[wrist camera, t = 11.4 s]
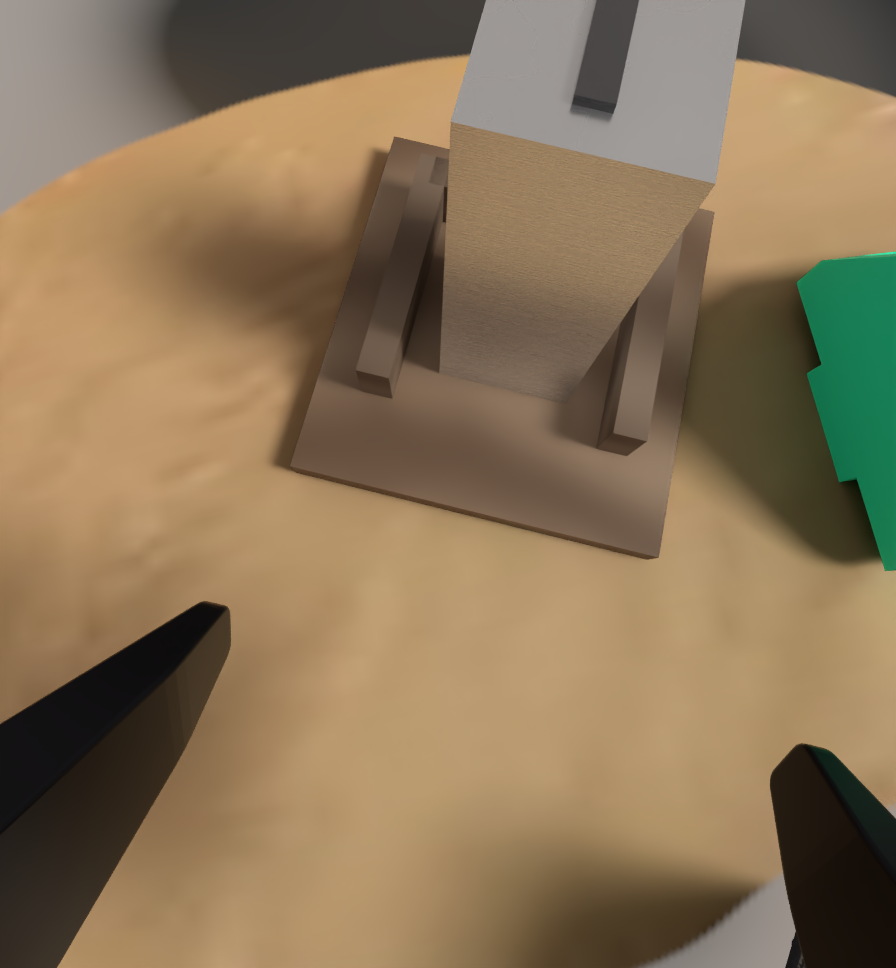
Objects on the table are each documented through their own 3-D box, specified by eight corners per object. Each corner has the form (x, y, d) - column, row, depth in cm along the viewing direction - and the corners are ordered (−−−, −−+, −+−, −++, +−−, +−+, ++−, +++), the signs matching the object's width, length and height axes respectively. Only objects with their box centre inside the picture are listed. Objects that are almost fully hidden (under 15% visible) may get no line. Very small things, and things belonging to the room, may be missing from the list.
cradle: (647, 559, 21) (683, 552, 18) (296, 472, 21) (274, 451, 19) (703, 227, 24) (740, 176, 21) (395, 154, 25) (391, 94, 22)
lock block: (564, 403, 21) (721, 175, 10) (439, 373, 21) (450, 112, 10) (588, 290, 22) (754, -34, 11) (468, 262, 23) (509, -89, 11)
